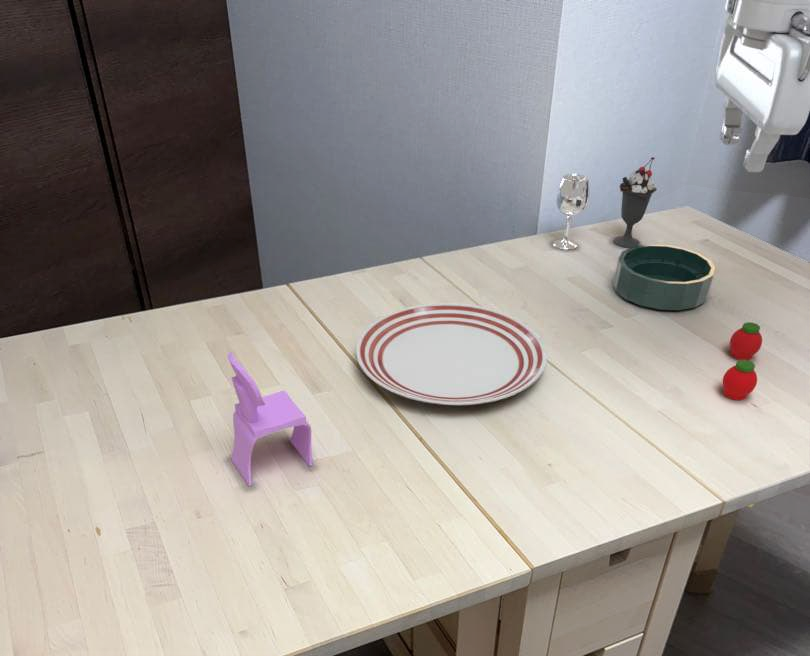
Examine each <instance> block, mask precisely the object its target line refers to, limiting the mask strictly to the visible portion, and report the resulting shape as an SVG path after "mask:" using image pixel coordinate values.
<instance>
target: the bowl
mask: <svg viewBox="0 0 810 656" xmlns="http://www.w3.org/2000/svg"><path fill="white" fill-rule="evenodd" d="M716 270H717V267H716V266H715V264H714V263H713V261H712V260H711V259H709V258H708V257H706V256H705V255H703V254H701V253H700V252H697V251H693V250H691V249H688V248H686V247H681V246H675V245H669V244H654V243H653V244H649V243H648V244H641V245H640V244H639V245H638V246H634V247H631V248H627V249H625V250H623V251H621V253H620V254H619V256H618V258H617V262H616V267H615V272H614V277H613V281H612V284H613V288H614V290H615V292H616V293H617V294H618V295H619V296H621V298H624V299H625V300H626V301H628V302H631V303H634V304H636V305H638V306H641V307H645V308H649V309H650V308H651V309H656V310H661V311H682V310H688V309H693V308H696V307H699V306H700V305H702V304H703V303H705V302H706V301H707V299H708V296H709V293H710V289H711V286H712V283H713V280H714V277H715V273H716Z"/></svg>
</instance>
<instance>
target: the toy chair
mask: <svg viewBox="0 0 810 656" xmlns="http://www.w3.org/2000/svg"><path fill="white" fill-rule="evenodd" d="M227 359H228V361H229V363H230V365H231V368H232V370H233V372H234V374H235V376H231V382H232V384H233V387H234V390H235V391H234V392H235V393H236V397H237V400H238V402H237V403H234V412H233V414H232V424H233V432H234V442H233V449H232V452H231V456H230V460H231V462H232V463H233V465H234V466H235V468H236V469H237V471H238V472H239V474H240V475H241V477H242V478H243V480H244V482H245V483H246V485H247V486H248V487H251V486H253V485H252V471H251V469H252V468H251V461H252V460H251V459H252V453H253V452H252V451H253V448H254V446H255V444H256V442H257V441H258V440H259V439H260V438H262V437H265V436H268V435H271V434H273V433H275V432H279V431H282V430H286V429H289V428H293V430H292V433H291V435H290V438H289V441H290V443H291V445H292V446H293V447H294V448H295V450H296V451H297V452H298V454H299V455H300V456H301V457H302V459H303V460H304V462H305V463H306V464H307V465H308V467H313V449H312V446H313V445H312V427H311V425H310V424H309V422H308V421H307V416H306V414H304V413H303V411H302V410H301V409H300V408H299V407H298V405H296V403H295V402H294V401H293V400H292V398H291V397H290V395H289V394H288V393H287V392H286V390H281V391H277V392H273V393H271V394H268V395H266V396H262V394H261V390H260V389H259V386H258V385H257V384H256V382H255V381H254V379H253V378H252V376H251V375H250V374H249V373H248V372H247V371H246V369H245V368H244V366H242V365H241V364H240V362H239V361H238V360H237V358H235V356H234V354H233V352H229V354H228V355H227Z"/></svg>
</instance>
